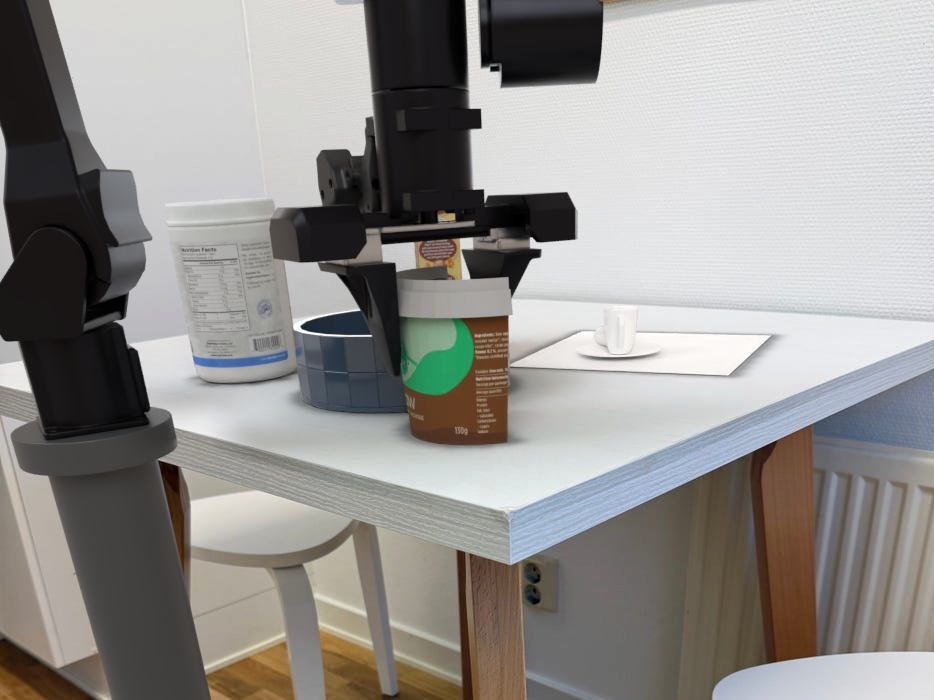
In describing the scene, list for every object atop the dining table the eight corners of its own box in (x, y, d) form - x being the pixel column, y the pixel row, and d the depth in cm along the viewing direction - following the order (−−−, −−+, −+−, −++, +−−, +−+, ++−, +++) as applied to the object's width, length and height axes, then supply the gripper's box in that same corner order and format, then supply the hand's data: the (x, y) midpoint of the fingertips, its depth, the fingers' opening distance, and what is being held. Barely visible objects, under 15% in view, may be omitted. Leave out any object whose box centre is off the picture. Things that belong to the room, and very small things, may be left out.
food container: (373, 419, 64) (358, 271, 60) (452, 408, 66) (444, 264, 61) (424, 460, 54) (410, 286, 49) (516, 447, 56) (512, 277, 51)
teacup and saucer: (595, 344, 88) (596, 300, 86) (674, 346, 84) (676, 301, 83) (563, 360, 81) (563, 313, 79) (647, 363, 78) (649, 314, 76)
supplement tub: (218, 366, 87) (188, 201, 80) (311, 363, 86) (289, 195, 79) (180, 387, 79) (142, 204, 72) (282, 384, 78) (254, 198, 71)
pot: (347, 424, 63) (337, 345, 60) (274, 386, 77) (264, 320, 74) (550, 389, 70) (549, 317, 68) (451, 360, 84) (447, 299, 81)
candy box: (468, 359, 84) (459, 178, 77) (424, 362, 84) (411, 181, 77) (460, 344, 92) (451, 179, 85) (420, 347, 91) (408, 181, 84)
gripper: (491, 104, 61) (499, 338, 68) (225, 107, 53) (266, 370, 61) (583, 87, 52) (581, 358, 59) (280, 87, 45) (320, 397, 52)
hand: (438, 369), depth 58 cm, fingers closed on food container, 6 cm apart
